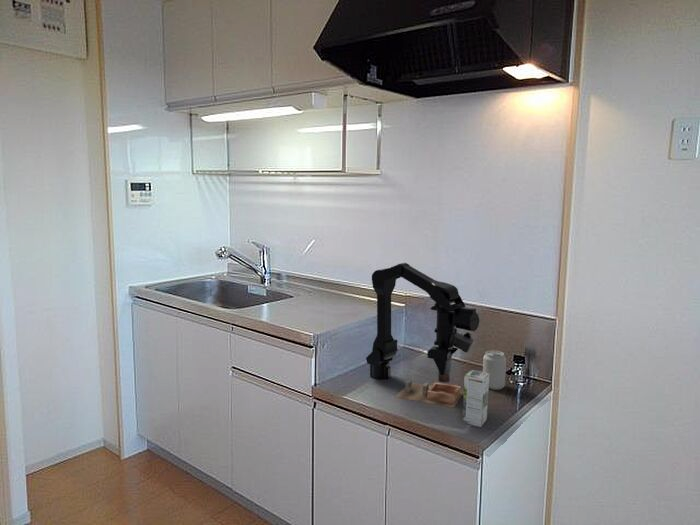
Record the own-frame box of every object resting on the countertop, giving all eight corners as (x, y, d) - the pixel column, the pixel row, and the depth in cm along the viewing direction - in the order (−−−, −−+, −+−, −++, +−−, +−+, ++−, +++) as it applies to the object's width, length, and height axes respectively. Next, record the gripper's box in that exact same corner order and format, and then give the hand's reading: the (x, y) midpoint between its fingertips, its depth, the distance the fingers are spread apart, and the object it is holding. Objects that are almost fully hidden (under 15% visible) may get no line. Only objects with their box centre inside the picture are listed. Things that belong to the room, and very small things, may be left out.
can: (493, 392, 172) (494, 357, 171) (477, 384, 179) (478, 351, 177) (509, 388, 176) (511, 354, 174) (494, 381, 182) (495, 348, 181)
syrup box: (468, 415, 155) (469, 369, 153) (487, 420, 152) (489, 372, 150) (461, 423, 150) (463, 375, 148) (482, 428, 147) (484, 378, 145)
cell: (436, 381, 165) (437, 352, 164) (439, 377, 168) (440, 348, 167) (448, 383, 163) (449, 353, 162) (451, 379, 167) (452, 350, 165)
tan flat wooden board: (395, 399, 166) (395, 387, 166) (409, 385, 179) (409, 373, 178) (453, 410, 158) (454, 397, 158) (464, 394, 171) (464, 382, 170)
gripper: (464, 335, 151) (462, 387, 154) (477, 321, 168) (475, 367, 170) (427, 331, 156) (426, 381, 158) (443, 317, 173) (442, 362, 175)
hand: (444, 372), depth 165 cm, fingers closed on cell, 4 cm apart
